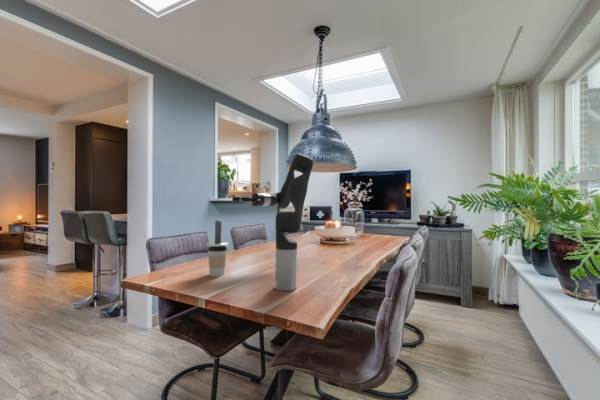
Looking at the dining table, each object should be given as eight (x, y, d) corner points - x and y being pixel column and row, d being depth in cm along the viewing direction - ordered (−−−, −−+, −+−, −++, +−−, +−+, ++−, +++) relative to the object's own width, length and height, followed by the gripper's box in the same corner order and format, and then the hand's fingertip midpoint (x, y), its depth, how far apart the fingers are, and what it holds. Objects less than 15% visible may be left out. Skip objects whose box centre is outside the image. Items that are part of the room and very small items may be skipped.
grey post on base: (225, 246, 139) (226, 221, 139) (202, 246, 139) (203, 221, 139) (231, 243, 150) (232, 220, 150) (210, 242, 150) (211, 219, 150)
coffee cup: (223, 277, 140) (224, 246, 140) (204, 276, 140) (205, 245, 140) (228, 272, 149) (229, 243, 149) (210, 272, 149) (211, 243, 149)
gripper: (253, 193, 170) (229, 192, 158) (269, 193, 160) (245, 192, 148) (253, 205, 170) (229, 205, 158) (269, 206, 160) (245, 206, 148)
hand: (237, 199), depth 153 cm, fingers open, 8 cm apart
